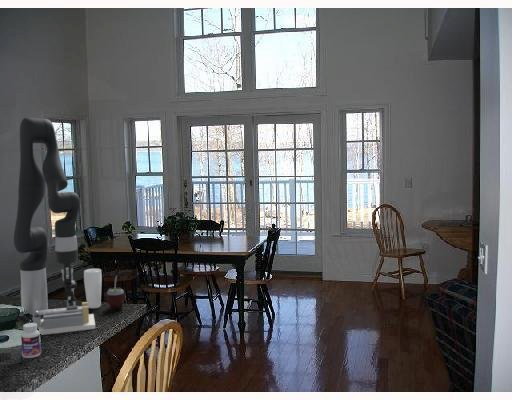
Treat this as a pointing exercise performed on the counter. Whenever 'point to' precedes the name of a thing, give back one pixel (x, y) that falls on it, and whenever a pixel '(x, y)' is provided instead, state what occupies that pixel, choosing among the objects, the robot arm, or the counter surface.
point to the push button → (72, 299)
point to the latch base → (65, 321)
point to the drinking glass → (93, 287)
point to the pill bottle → (30, 341)
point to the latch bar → (58, 310)
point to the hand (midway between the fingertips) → (68, 296)
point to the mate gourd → (115, 297)
